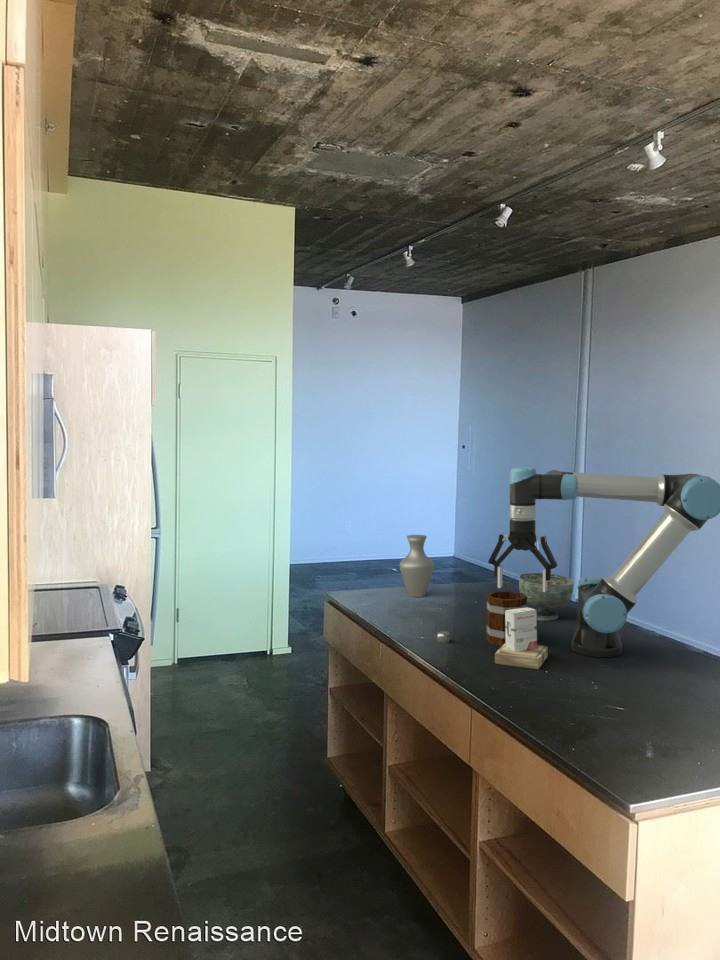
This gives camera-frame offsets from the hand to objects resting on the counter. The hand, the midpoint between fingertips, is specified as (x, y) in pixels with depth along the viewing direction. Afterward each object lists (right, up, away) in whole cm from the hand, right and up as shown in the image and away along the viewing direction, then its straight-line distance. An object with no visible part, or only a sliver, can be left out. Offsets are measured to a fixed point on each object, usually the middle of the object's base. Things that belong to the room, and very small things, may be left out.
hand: (522, 589), depth 224 cm
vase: (-25, -15, +86) cm, 91 cm away
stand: (0, -22, +2) cm, 22 cm away
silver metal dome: (-21, -20, +21) cm, 36 cm away
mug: (+1, -20, +25) cm, 32 cm away
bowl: (+20, -18, +50) cm, 57 cm away
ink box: (0, -18, +2) cm, 18 cm away
